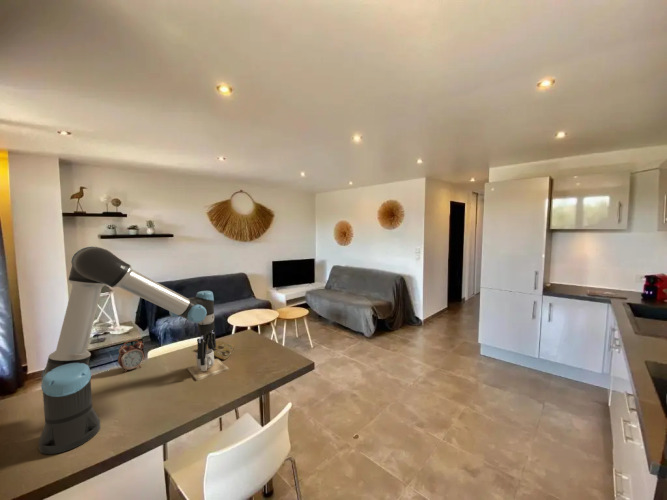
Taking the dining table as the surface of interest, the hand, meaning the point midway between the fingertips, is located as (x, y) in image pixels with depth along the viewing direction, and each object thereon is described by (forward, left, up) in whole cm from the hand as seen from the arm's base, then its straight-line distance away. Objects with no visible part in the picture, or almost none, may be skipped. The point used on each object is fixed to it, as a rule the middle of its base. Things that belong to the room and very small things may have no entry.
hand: (207, 367), depth 141 cm
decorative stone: (+13, +17, -3) cm, 22 cm away
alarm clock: (-28, +27, -2) cm, 39 cm away
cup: (0, 0, 0) cm, 1 cm away
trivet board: (0, 0, -1) cm, 1 cm away
